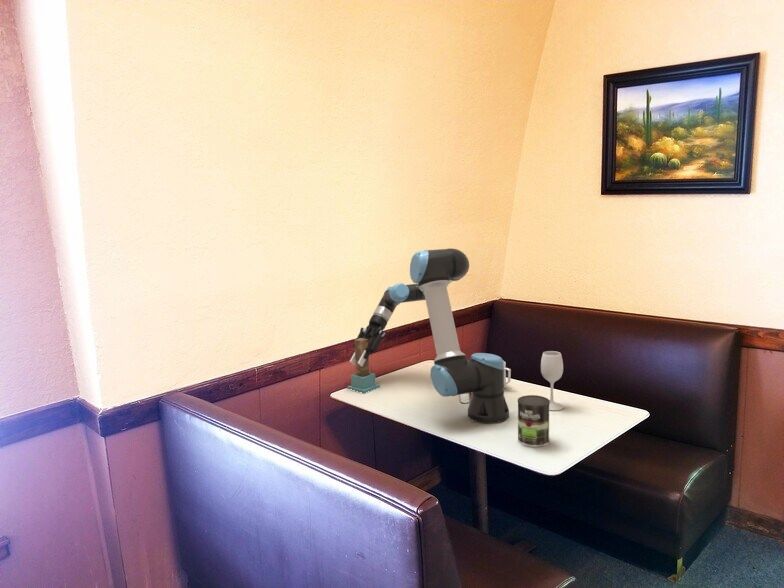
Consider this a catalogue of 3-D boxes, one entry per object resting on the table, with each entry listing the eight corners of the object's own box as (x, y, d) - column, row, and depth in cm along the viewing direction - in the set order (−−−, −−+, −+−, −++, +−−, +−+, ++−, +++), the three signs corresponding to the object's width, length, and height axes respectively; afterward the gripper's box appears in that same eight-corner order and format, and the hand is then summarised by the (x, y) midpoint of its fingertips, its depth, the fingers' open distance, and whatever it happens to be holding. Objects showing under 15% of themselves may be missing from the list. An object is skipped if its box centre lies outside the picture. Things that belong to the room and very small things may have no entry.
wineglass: (539, 402, 234) (539, 350, 231) (562, 403, 232) (563, 350, 229) (540, 410, 226) (540, 356, 222) (564, 411, 224) (564, 356, 220)
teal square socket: (380, 387, 260) (379, 373, 259) (364, 393, 253) (363, 379, 252) (363, 383, 267) (362, 369, 266) (347, 389, 260) (346, 375, 258)
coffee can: (544, 449, 192) (544, 407, 190) (513, 443, 198) (512, 402, 195) (553, 437, 201) (553, 397, 199) (523, 432, 206) (523, 393, 204)
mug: (480, 388, 253) (479, 363, 251) (492, 383, 259) (492, 358, 257) (503, 394, 245) (503, 368, 243) (516, 389, 251) (516, 363, 249)
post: (369, 375, 260) (367, 339, 257) (363, 377, 257) (361, 341, 254) (362, 373, 262) (360, 337, 259) (356, 376, 259) (354, 339, 257)
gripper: (399, 325, 262) (375, 371, 252) (370, 321, 273) (346, 365, 264) (390, 315, 257) (365, 362, 248) (361, 311, 268) (337, 356, 259)
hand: (355, 363), depth 256 cm, fingers closed on post, 4 cm apart
